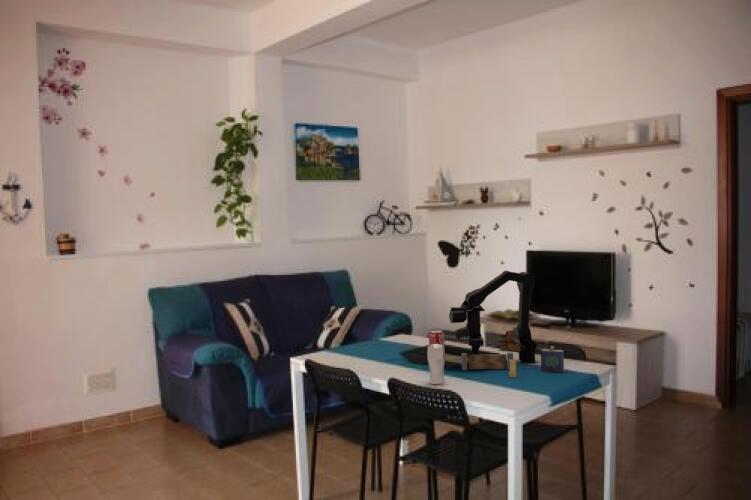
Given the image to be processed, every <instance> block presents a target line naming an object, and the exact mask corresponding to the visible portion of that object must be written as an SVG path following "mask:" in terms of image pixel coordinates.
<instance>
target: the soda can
mask: <svg viewBox="0 0 751 500" xmlns="http://www.w3.org/2000/svg"><path fill="white" fill-rule="evenodd" d="M431 344H441V345H444V351H445V334H444V331H443V330H442V329H433V330H430V332H429V336H428V345H431ZM445 352H446V351H445Z"/></svg>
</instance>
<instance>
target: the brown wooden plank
mask: <svg viewBox="0 0 751 500" xmlns="http://www.w3.org/2000/svg"><path fill="white" fill-rule="evenodd" d="M468 368H469V369H468V370H501V369H502V370H508V369H507V353H503V354H501V353H500V354H499V353H497V354H496V353H495V354H491V353H490V354H488V353H487V354H485V353H484V354H477V355H473V354H469V355H468Z"/></svg>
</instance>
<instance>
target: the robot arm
mask: <svg viewBox="0 0 751 500" xmlns="http://www.w3.org/2000/svg"><path fill="white" fill-rule="evenodd" d="M510 281H511V282H515V283H516V286H517V288H518V294H519V295H518V297H519V299H518V319H517V321H518V322H517V325H516V327H512V330H513V337H514V340H515V341H516V342H518V345H519V346H521V347H520V350H518V351H517V352H518V360H519V362H520V364H525V363H529V364H531V363H537V360H536V350H537V347H538V344H537V343H536V342H535V341H534V340H533V339H532V338H533V337H532V332H531V328H530V322H529V321H530V303H531V292H532V291H533V289H534V285H535V276H534V275H533V274H532V273H529V272H526V271H520V272H515V271H511V270H510V271H509V270H504V271H502V273H500V274H499V275H497V276H495V278H493V279H492V280H490V281H488V283H486V284H485V285H483V286H482V287H479V288H476V289H473V290H471V291H470V292H467V293H466V294H465V297H464V300H463V302H462V303H461V305H460V306H457V307H454V306H451V307H450V311H449V315H448V317H449V322H450V324H457V323H465V321H466V324H465V326H464V327H463V326H462V327H460V328H458V329H454V331H453V332H454V335H455V338H456V340H460V339H461V338H464V337H466V338H467V339H466V342H467V345H468V346H470V348H471V353H472V355H478V352H479V350H480V347H481V346H483V345H484V340H483V338H482V331H481V327H482V324H481V312H485V311H486V309H485V308H484V307H482V304H483V303H484V302H485V300H486V299H487V297H488V296H490V295H491V294H492V293H494V292H495V291H496V290H498V289H499V288H501V287H502V286H503V285H505V284H506V283H508V282H510Z"/></svg>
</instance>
